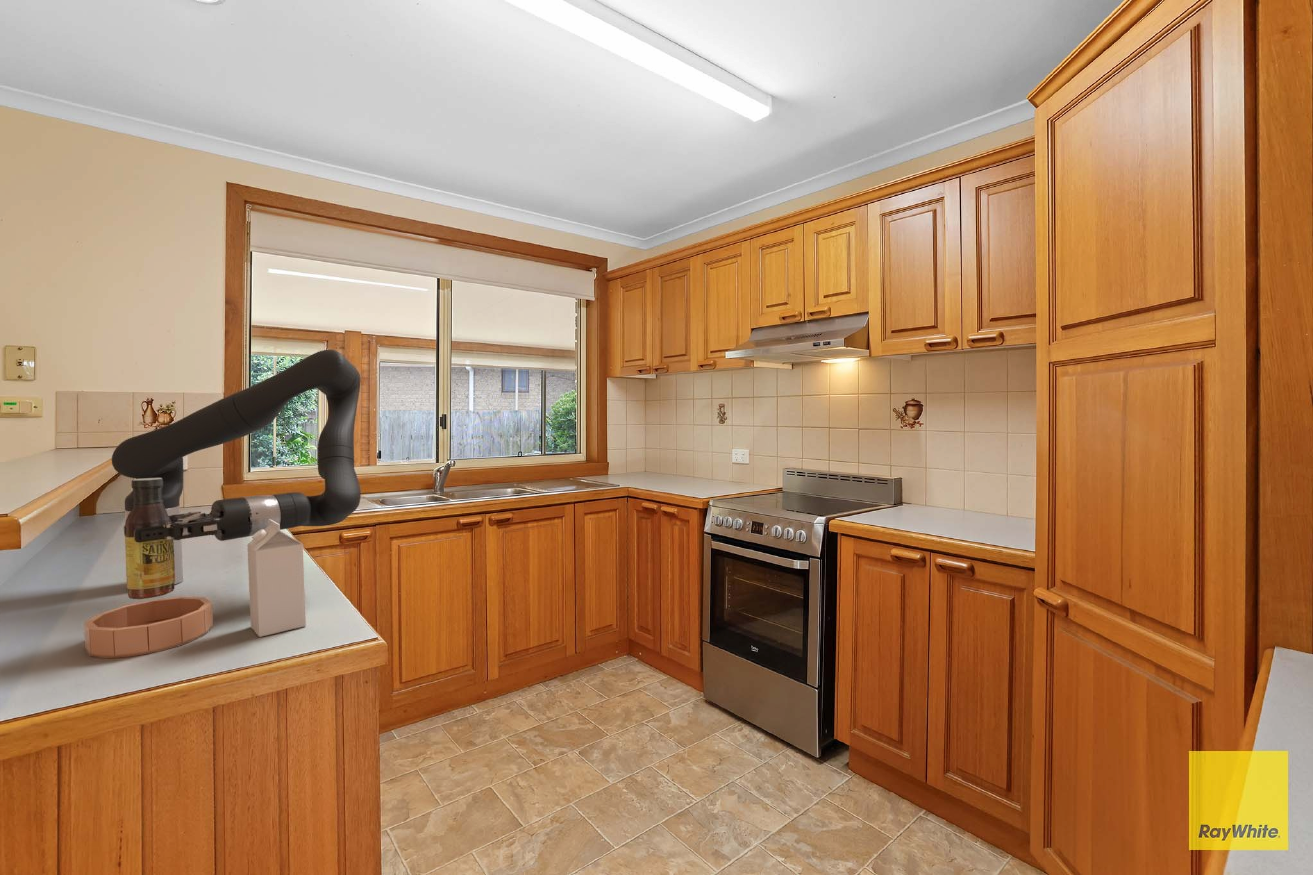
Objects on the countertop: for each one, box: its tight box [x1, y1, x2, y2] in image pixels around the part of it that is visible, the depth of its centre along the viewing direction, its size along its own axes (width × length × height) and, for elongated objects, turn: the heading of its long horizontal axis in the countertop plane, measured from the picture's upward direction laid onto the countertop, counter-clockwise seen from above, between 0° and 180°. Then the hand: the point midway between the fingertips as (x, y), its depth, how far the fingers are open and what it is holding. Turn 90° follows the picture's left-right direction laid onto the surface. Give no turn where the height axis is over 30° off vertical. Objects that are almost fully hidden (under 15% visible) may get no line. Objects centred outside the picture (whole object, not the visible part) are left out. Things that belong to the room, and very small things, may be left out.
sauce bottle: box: [124, 478, 175, 600], centre depth 99 cm, size 7×6×20 cm
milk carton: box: [247, 519, 307, 638], centre depth 104 cm, size 7×7×19 cm
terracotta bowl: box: [83, 596, 214, 659], centre depth 100 cm, size 16×16×4 cm
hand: (129, 533), depth 97 cm, fingers closed on sauce bottle, 6 cm apart
